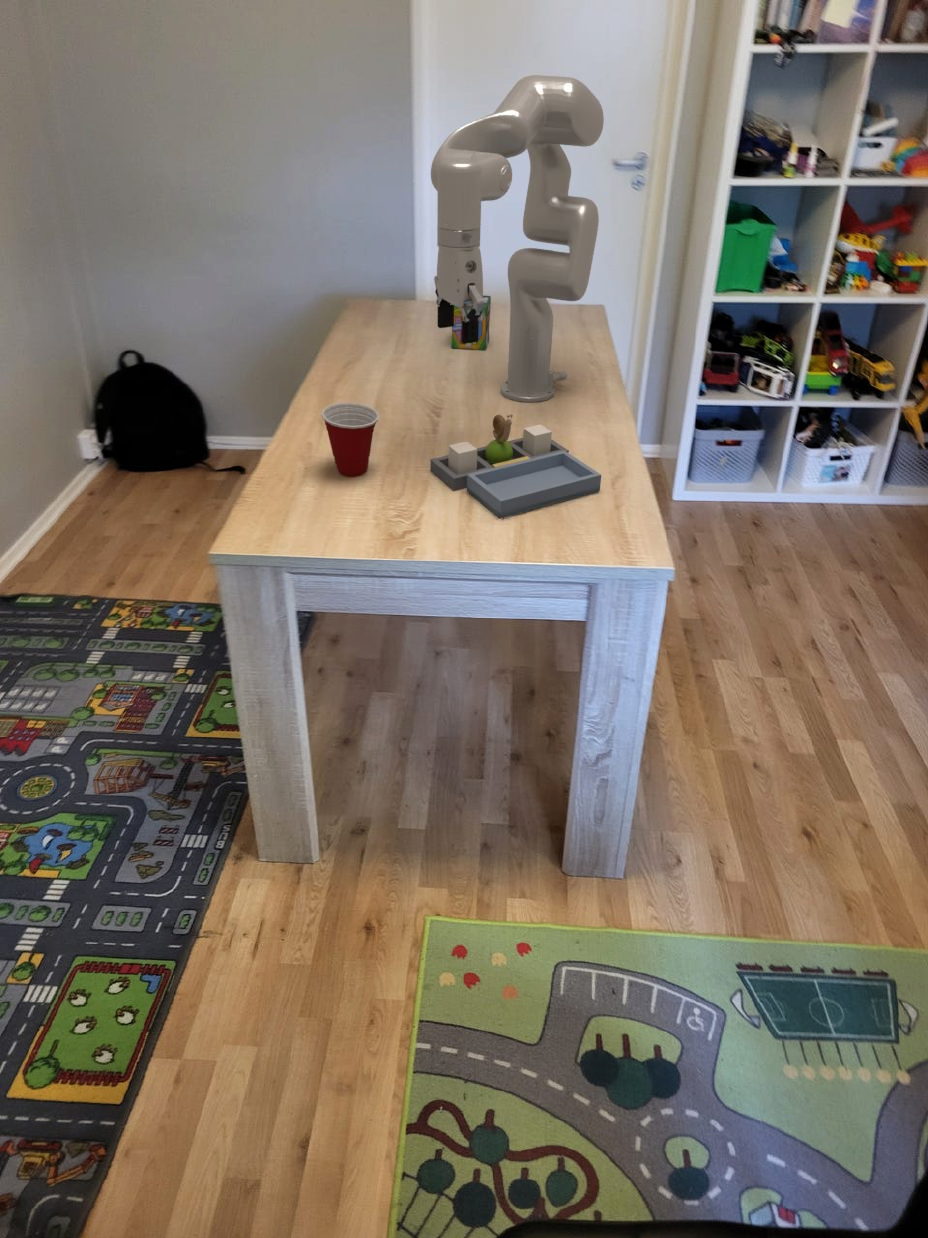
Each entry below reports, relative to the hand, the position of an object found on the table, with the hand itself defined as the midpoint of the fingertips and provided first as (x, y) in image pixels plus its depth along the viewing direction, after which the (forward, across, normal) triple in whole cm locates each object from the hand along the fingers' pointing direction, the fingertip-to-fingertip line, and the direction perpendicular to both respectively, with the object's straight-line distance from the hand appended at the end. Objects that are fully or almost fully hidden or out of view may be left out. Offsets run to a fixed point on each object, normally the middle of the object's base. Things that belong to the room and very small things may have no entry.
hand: (457, 334), depth 172 cm
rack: (+25, -8, -6) cm, 26 cm away
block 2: (+25, -7, -14) cm, 29 cm away
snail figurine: (+25, -8, -6) cm, 27 cm away
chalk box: (+24, +59, -34) cm, 72 cm away
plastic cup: (+25, +3, +21) cm, 33 cm away
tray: (+25, -20, -6) cm, 32 cm away
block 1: (+25, -8, +3) cm, 26 cm away
